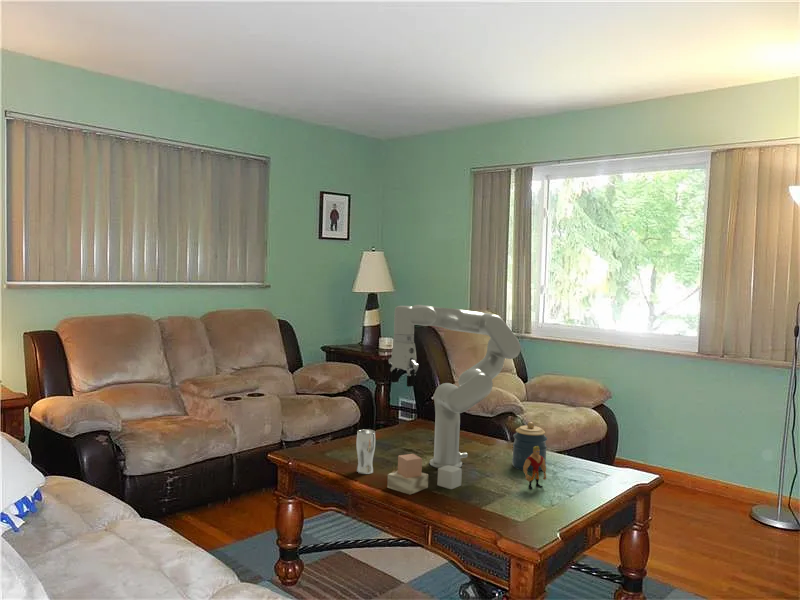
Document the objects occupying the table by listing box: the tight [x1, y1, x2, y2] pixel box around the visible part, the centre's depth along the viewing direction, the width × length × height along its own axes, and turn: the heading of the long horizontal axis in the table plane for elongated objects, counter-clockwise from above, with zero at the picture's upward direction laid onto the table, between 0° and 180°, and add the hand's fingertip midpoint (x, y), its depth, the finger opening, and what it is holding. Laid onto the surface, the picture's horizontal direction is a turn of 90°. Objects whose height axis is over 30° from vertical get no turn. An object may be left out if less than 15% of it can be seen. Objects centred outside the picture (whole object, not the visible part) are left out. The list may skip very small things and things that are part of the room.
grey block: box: [437, 465, 463, 490], centre depth 224 cm, size 6×6×6 cm
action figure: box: [522, 446, 547, 490], centre depth 224 cm, size 10×4×15 cm, turn 114°
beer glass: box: [356, 428, 376, 475], centre depth 235 cm, size 7×7×15 cm
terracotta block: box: [397, 453, 423, 478], centre depth 220 cm, size 6×6×6 cm
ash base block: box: [386, 470, 429, 495], centre depth 220 cm, size 10×10×5 cm
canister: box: [511, 421, 548, 472], centre depth 248 cm, size 13×13×18 cm
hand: (402, 384), depth 240 cm, fingers open, 9 cm apart
